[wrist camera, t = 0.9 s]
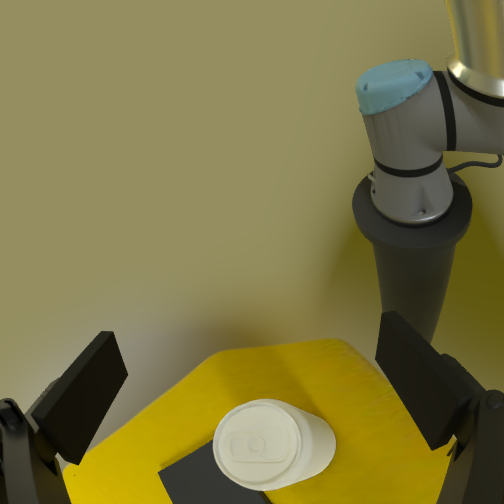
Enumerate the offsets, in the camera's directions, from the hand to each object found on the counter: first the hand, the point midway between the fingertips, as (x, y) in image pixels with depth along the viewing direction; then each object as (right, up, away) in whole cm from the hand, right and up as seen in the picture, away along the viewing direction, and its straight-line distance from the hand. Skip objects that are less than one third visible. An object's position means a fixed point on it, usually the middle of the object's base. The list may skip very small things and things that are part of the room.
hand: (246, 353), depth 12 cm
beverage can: (+6, -17, +12) cm, 22 cm away
